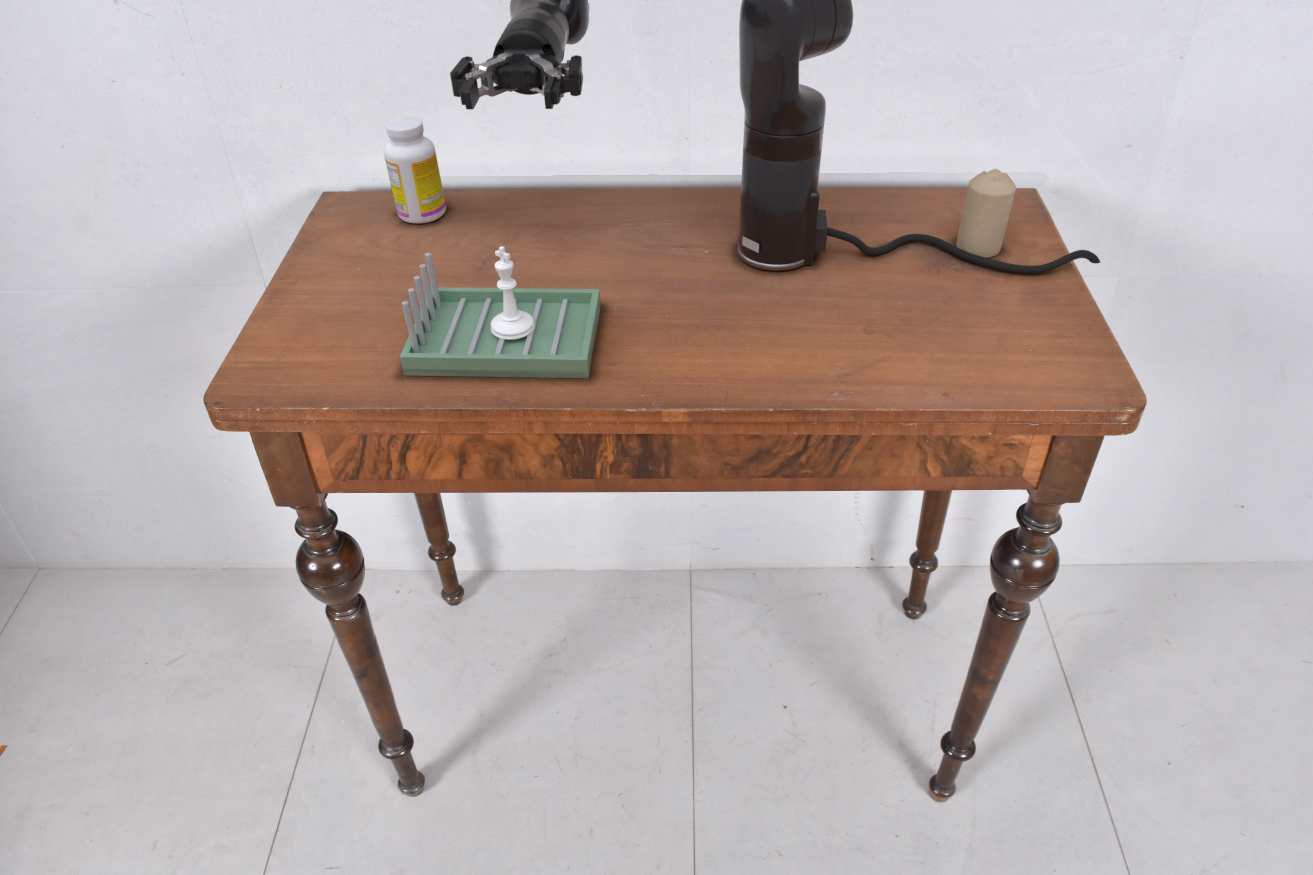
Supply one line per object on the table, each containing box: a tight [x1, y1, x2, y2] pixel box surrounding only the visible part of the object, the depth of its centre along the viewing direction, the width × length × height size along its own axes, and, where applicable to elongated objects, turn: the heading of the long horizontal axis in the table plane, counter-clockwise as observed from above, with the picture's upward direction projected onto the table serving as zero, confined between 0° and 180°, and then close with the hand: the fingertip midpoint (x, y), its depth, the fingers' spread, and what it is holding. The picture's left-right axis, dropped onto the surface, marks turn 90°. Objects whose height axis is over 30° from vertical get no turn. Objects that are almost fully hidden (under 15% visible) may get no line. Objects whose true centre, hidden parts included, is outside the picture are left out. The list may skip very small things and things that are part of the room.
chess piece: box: [491, 245, 535, 340], centre depth 100 cm, size 5×5×10 cm
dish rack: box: [399, 252, 602, 379], centre depth 102 cm, size 20×14×8 cm
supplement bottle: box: [383, 116, 447, 224], centre depth 124 cm, size 7×7×13 cm
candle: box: [955, 168, 1017, 258], centre depth 115 cm, size 6×6×10 cm
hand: (507, 100), depth 98 cm, fingers open, 8 cm apart
